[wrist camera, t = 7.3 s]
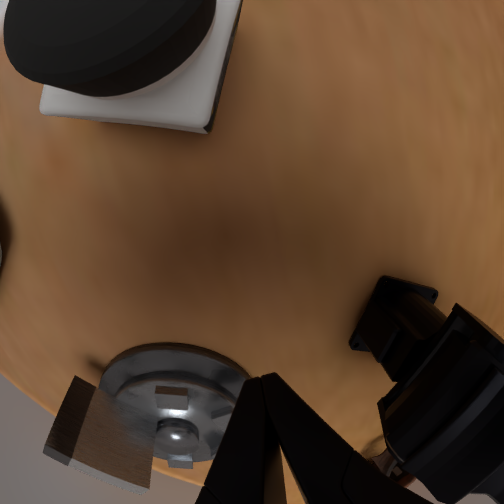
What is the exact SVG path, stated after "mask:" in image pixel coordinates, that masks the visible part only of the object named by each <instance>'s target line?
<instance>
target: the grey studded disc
mask: <svg viewBox="0 0 504 504" xmlns="http://www.w3.org/2000/svg"><path fill="white" fill-rule="evenodd" d="M236 401H237V398H236V397H235V396H234V395H233V394H232V393H231V392H230V391H229V390H227V389H226V388H224V387H223V386H221V385H220V384H218V383H216V382H214V381H212V380H209V379H206V378H204V377H200V376H197V375H194V374H189V373H184V372H175V371H156V372H149V373H144V374H140V375H137V376H135V377H132V378H130V379H128V380H127V381H125V382H124V383H123V384H122V385H121V386H120V387H119V388H118V390H117V391H116V394H115V396H114V397H113V396H111V395H109V394H107V393H106V392H104V391H102V390H100V389H98V388H96V387H95V386H93V385H92V384H90V383H88V382H86V381H84V380H83V379H81V378H79V377H78V376H76V375H75V376H74V378H73V380H72V383H71V385H70V387H69V389H68V391H67V393H66V396H65V398H64V400H63V402H62V404H61V407H60V409H59V411H58V414H57V416H56V418H55V421H54V423H53V426H52V428H51V430H50V433H49V435H48V438H47V440H46V443H45V446H44V450H43V453H44V454H46V455H47V456H49V457H51V458H53V459H55V460H57V461H59V462H61V463H63V464H65V465H67V466H70V467H72V468H74V469H76V470H78V471H80V472H83V473H85V474H87V475H89V476H92V477H94V478H96V479H99V480H101V481H104V482H106V483H109V484H111V485H114V486H116V487H119V488H122V489H125V490H128V491H130V492H133V493H137V494H139V495H142V494H143V493H145V492H146V491H147V490H149V488H150V478H151V469H152V460H153V456H154V457H157V458H161V459H165V460H167V461H168V465H169V467H173V468H186V469H193V462H200V461H207V460H212V459H214V457H215V455H216V452H217V450H218V447H219V445H220V442H221V440H222V437H223V435H224V432H225V430H226V427H227V425H228V422H229V420H230V417H231V414H232V412H233V409H234V407H235V404H236Z"/></svg>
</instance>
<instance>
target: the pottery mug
mask: <svg viewBox="0 0 504 504" xmlns="http://www.w3.org/2000/svg"><path fill="white" fill-rule="evenodd" d="M371 459H372V460H373V461H374V462H375V464H373V466H374V467H376V468H377V469H378V470H379V471H381V472H382V473H384V474H385V475H387V476H388V477H389V478H391V479H392V480H394V481H395V482H397V483H399V484H400V485H402V486H404V487H405V488H406V487H408V486H409V485H410V484H411V483H413V482H414V481H415V480H416V477H415V476H414V475H412V474H410V473H409V472H407V471H405V470H404V469H402V468H401V464H400V463H398V462H397V461H396V460H395V459H394V458H393V456H392V455H391V454H390V453H389V452H388V449H387V448H386V449H385V450H384V452H383V453H382V454H380V455H379V456H375V457H372V458H371Z"/></svg>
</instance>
